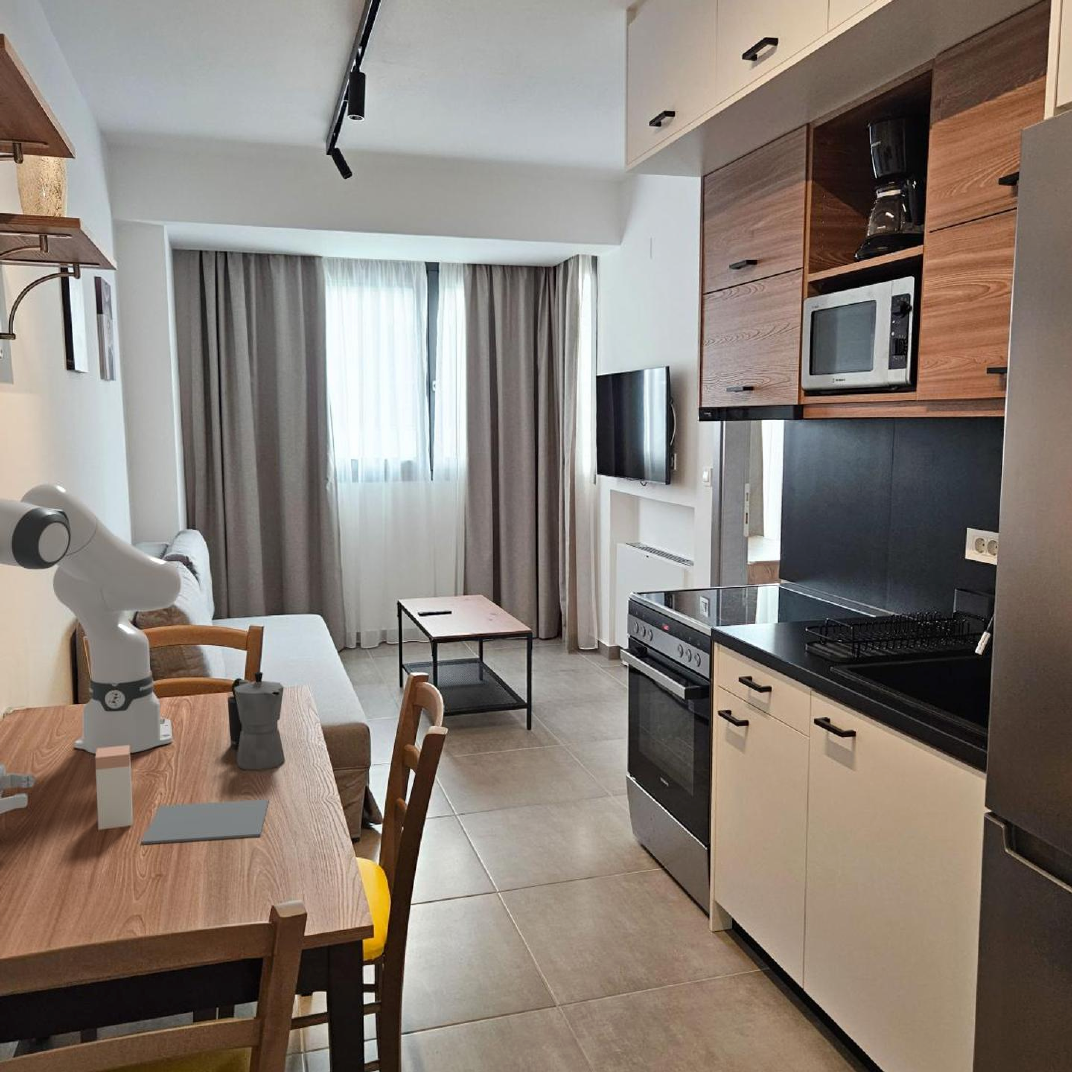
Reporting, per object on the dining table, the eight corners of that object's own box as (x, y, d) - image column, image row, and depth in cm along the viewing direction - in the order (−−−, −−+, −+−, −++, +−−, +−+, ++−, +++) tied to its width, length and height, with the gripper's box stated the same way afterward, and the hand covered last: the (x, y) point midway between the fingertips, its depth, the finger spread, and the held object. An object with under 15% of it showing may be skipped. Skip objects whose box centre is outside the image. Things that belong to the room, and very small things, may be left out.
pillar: (100, 818, 163) (97, 748, 162) (132, 814, 165) (129, 745, 163) (98, 829, 158) (95, 757, 157) (131, 825, 160) (129, 754, 159)
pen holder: (235, 737, 206) (234, 691, 205) (280, 737, 207) (279, 691, 206) (223, 752, 197) (222, 703, 196) (270, 751, 197) (269, 703, 196)
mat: (160, 808, 167) (159, 805, 167) (268, 801, 171) (268, 799, 171) (141, 844, 153) (141, 841, 153) (260, 836, 156) (260, 833, 156)
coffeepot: (301, 763, 190) (299, 673, 188) (259, 776, 183) (257, 682, 181) (255, 747, 200) (253, 660, 198) (214, 758, 193) (211, 669, 191)
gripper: (-86, 804, 141) (22, 792, 146) (-58, 761, 160) (36, 751, 165) (-84, 846, 142) (23, 833, 147) (-56, 798, 161) (38, 787, 166)
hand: (30, 789), depth 156 cm, fingers open, 8 cm apart
